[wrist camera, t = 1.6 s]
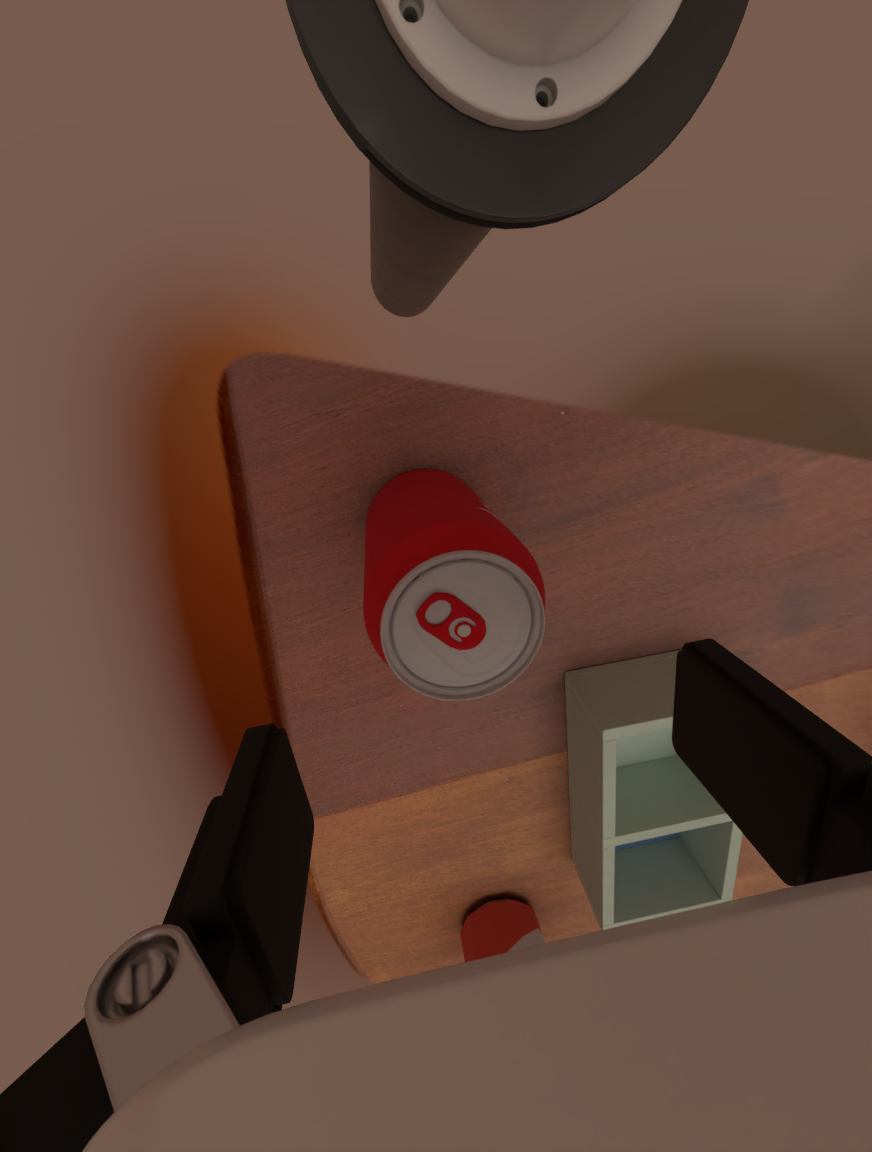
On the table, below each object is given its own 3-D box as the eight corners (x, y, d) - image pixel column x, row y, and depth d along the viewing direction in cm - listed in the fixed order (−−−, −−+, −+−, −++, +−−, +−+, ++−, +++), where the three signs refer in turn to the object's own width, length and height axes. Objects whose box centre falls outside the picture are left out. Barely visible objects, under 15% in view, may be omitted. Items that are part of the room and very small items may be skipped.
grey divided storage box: (564, 671, 31) (603, 730, 25) (701, 645, 31) (765, 698, 26) (571, 857, 38) (602, 934, 32) (683, 833, 38) (731, 905, 33)
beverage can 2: (532, 935, 41) (592, 1141, 30) (458, 946, 40) (491, 1161, 29) (537, 887, 38) (604, 1091, 27) (458, 898, 38) (494, 1112, 27)
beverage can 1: (431, 597, 27) (471, 744, 16) (342, 534, 25) (319, 654, 14) (504, 514, 26) (601, 613, 15) (416, 439, 24) (454, 492, 13)
